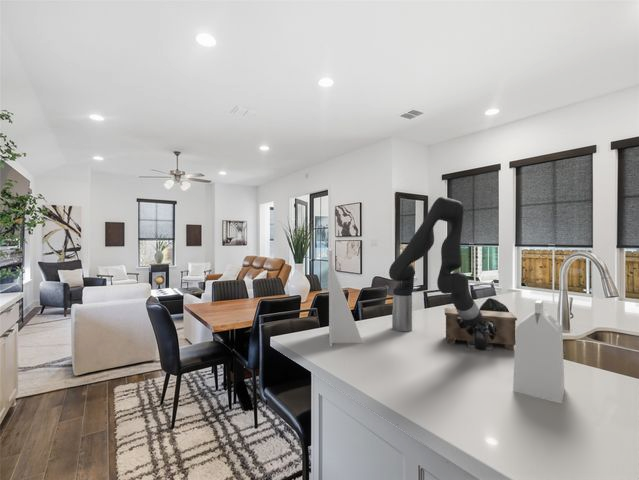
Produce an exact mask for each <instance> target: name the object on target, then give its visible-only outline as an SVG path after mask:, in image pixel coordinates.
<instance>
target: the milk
mask: <svg viewBox="0 0 639 480" xmlns="http://www.w3.org/2000/svg"><path fill="white" fill-rule="evenodd" d="M544 308H545V307H544V300H542V299H541V300H540V299H537V300H536V301H535V302H534V311H533V312H531V313H530V314H528V315H527V316H526V317H524V318H523V319H521V321H519V323H518V324H517V325H516V327H515V345H514V365H513V383H512V392H515V393H517V394H518V393H519V394H523V395H526V396H530V397H534V398H538V399H543V400H546V401H551V402H554V403H558V404H563V399H564V393H565V370H564V369H565V366H564V342H563V341H564V339H563V326H562V325H561V324H560V322H559V321H558V319H557V318H556V317H555V316H554V315H553V314H552V313H550V312H548V311H546V309H544Z"/></svg>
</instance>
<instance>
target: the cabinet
mask: <svg viewBox="0 0 639 480" xmlns="http://www.w3.org/2000/svg"><path fill="white" fill-rule="evenodd" d="M480 312H481V314H482V317H483V320H485V322H489V321H493V323H494V324H495V326H496V328H497V329H498V330H497V333H496V335H495V339H494V340H491V339H490V337H489V335H488V334H487V333H486V342H489V343H491V344H499V345H500V344H501V345H504V346H503V347H504V349H505V350H511V351H515V341H516V321H518V317H517V316H515V314H514V313H513V312H510V311H509V312H496V311H481V310H480ZM444 315H445V339H446V340H447V344H451V345H455V344H456V340H461V341H467V340H468V341H475V328H472V327H471V328H472V330H473V334H472V335H469V333H468V332H467V331H466V330H465V328H460V327H459V325H458V323H457V321H456V320H457V317H458V315H459V314H458V312H457V310H456V308H448V307H444ZM487 330H488V331H489V329H487Z"/></svg>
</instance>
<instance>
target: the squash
mask: <svg viewBox="0 0 639 480" xmlns="http://www.w3.org/2000/svg"><path fill="white" fill-rule="evenodd" d="M479 310H481V311H496V312H510V310H509V309H508V306H506V305H505V304H504V303H502V302H500V301H499V300H497V299H495V298H493V297H489V298H487V299H486V300H485V301H484V302H483V303H482V304H481V305H480V307H479Z"/></svg>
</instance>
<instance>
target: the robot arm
mask: <svg viewBox="0 0 639 480" xmlns="http://www.w3.org/2000/svg"><path fill="white" fill-rule="evenodd" d="M438 221H443V222H447V223H449V225H450V229H449V233H448V235H447V236H446V238H445V239H444V240H443V241H442V244H441V247H440V248H441V249H440V255H441V257H440V258H441V260H440V261H441V265H440V269H439V274H438V276H437V281H436V283H437V289H438V290H439V291H440V292H441V293H442V294H446V295H448V294H450V300H451V302H452V304H453V306H454V307H455V309H456V310H457V312H458V314H459V315H458V317H457V320H456V321H457V323H458V325H459V327H460V328H465V330H466V331H467V332H468V333H469V335H472V334H473V330H472V328H476V329H479V330H481V331H482V332H486V333H487V334H488V335H489V337H490V339H491V340H494V339H495V335H496V333H497V330H498V329H497V328H496V326H495V324H494V323H493V321H489V322H485V320H483V317H482V314H481V312H480V310H479V309H480V307H479V306H478V305H477V303H476V302H475V300H474V298H473V297H472V295H471V293H470V288H469V287H470V285H469V284H470V283H469V278H468V275H466V274H465V273H464V272H455V271H456V270H459V269H460V268H462V263H463V262H462V260H463V259H462V250H461V249H462V248H461V243H462V242H461V239H462V231H463V223H464V222H463V221H464V206H463V203H462V202H461V201H459V200H457V199H453V198H449V197H444V196H440V197H438V198H436V200H435V201H434V202H433V203H432V205H431V207H430V209H429V210H428V213H427V215H426V216H425V218H424V219H423V222H422V223H421V224H420V226H419V228H418V229H417V230H416V232H415V233H414V234H413V236H412V238H411V239H410V240H409V242H408V243H407V245H406V246H405V248H404V249H403V250H402V252H401V253H400V254H399V256H398V257H397V258H396V259H395V260H394V261H393V262H392V264H391V265H390V267H389V271H388V275H389V278H390V279H391V280H392V281H394V282H400V283H399V285H397V286H396V287H394V288H393V289H392V310H391V311H392V312H391V316H392V317H391V319H392V321H391V324H392V325H391V327H392V330H394V331H397V332H410V331H412V330H413V292H414V283H415V269H414V265H413V263H415V262H416V261H418V260H420V259H422V258H423V257H424V256H425V255H427V253H429V251H430V250H431V249H432V247H433V246H434V244H435V243H434V242H435V233H434V227H435V225H436V224H437V222H438ZM484 326H485V327H484ZM471 327H472V328H471ZM483 327H484V329H483ZM487 329H489V331H488V330H487Z"/></svg>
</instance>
